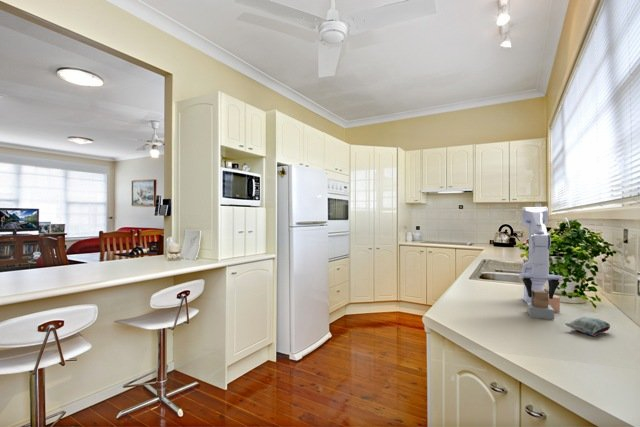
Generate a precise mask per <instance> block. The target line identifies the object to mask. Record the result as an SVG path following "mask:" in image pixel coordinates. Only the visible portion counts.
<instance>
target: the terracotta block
mask: <svg viewBox="0 0 640 427" xmlns="http://www.w3.org/2000/svg"><path fill="white" fill-rule="evenodd" d="M548 305H551V307H552V308H553V309H554V313H555V312H556V313H560V312H561V297H559V296H558V295H555V294H554V295H553V299H550V298H549V294H548Z"/></svg>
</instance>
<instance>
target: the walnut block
mask: <svg viewBox="0 0 640 427" xmlns="http://www.w3.org/2000/svg"><path fill="white" fill-rule="evenodd" d="M531 291H532V297H531V304H532V305H533V306H534V307H537V308H548V295H549V292H547V291H546V290H545V289H544V290H531Z"/></svg>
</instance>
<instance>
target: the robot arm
mask: <svg viewBox="0 0 640 427" xmlns="http://www.w3.org/2000/svg"><path fill="white" fill-rule="evenodd" d="M521 217H522V218H521V219H522V224H523V225H524V226H526V227H527V231H528V261H526V262H524V263H523V264H522V266H521V267H522V268H521V273H518V277H519V279H521V281H522V282H523V284H524V285H523V297H521V299H522V300H523V301H524V302H525V303H526V304H527V303H531V297H532V291H531V290H544V291H545V285H546V284H547V283H548V295H549V298H550V299H553V295H555V293H556V290H557V288H558V287H559V285H560V282H563V276H562V275H557V274H550V249H551V246H552V238H551V235H550V233H549V232H548V230H547V225H546V224H547V222H548V218H549V209H548V207H547V206H540V207H539V206H536V207H535V206H532V207H531V206H527V207H526V206H523V207H522V208H521ZM523 225H522V226H523Z"/></svg>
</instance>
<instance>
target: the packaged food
mask: <svg viewBox="0 0 640 427" xmlns="http://www.w3.org/2000/svg"><path fill="white" fill-rule="evenodd" d="M564 324H565V326H567V327H569V328H570V329H572V330H573V331H574V330H575V331H578V332H580V333H583V334H586V335H588V336H594V337H595V336H597V335H599V334H602V333H605V332H607V331H609V330H610V328H611V324H610V323H608V322H606V321H604V320H603V319H599V318H596V317H590V316H589V317H588V316H582V317H580V318H577V319H574V320H571V321H570V322H568V323H567V322H566V323H564Z"/></svg>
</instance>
